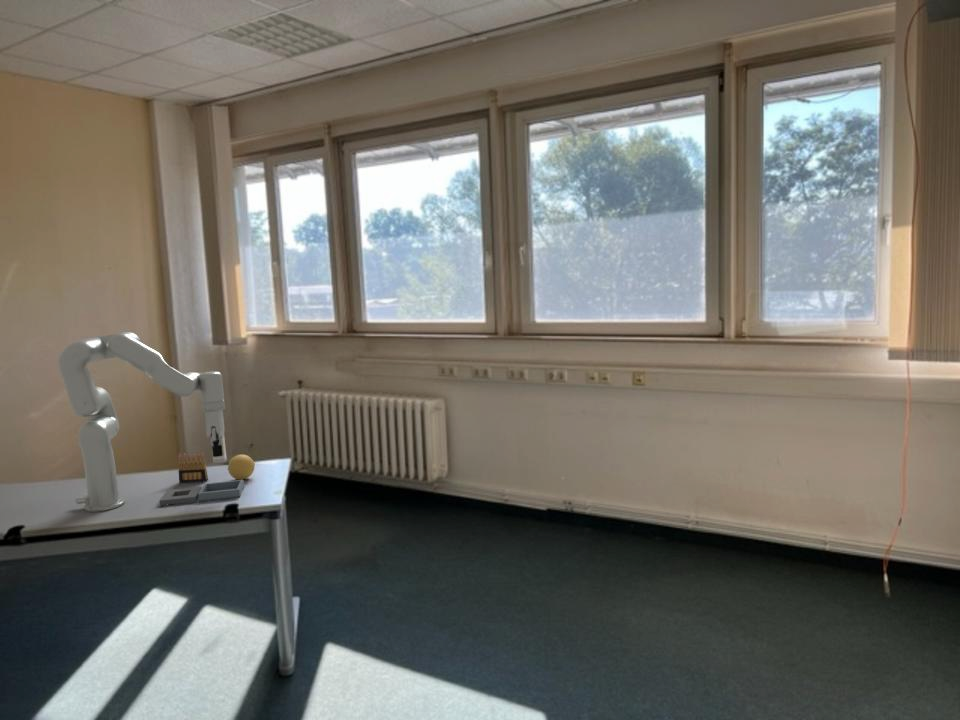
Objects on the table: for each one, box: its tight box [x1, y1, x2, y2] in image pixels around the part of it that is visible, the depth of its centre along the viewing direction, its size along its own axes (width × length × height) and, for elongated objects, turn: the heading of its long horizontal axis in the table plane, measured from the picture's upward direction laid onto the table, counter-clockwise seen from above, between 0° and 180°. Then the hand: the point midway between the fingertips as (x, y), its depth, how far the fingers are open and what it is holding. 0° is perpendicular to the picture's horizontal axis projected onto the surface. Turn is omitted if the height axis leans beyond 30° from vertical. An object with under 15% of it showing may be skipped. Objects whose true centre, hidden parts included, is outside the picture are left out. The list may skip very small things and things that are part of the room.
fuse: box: [209, 432, 228, 464], centre depth 239 cm, size 4×4×10 cm
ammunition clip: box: [177, 451, 209, 484], centre depth 258 cm, size 11×2×12 cm, turn 91°
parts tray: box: [198, 479, 245, 503], centre depth 241 cm, size 14×12×3 cm
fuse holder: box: [158, 486, 203, 506], centre depth 238 cm, size 12×12×2 cm
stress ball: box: [227, 454, 255, 480], centre depth 258 cm, size 10×10×10 cm
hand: (219, 454), depth 239 cm, fingers closed on fuse, 3 cm apart
